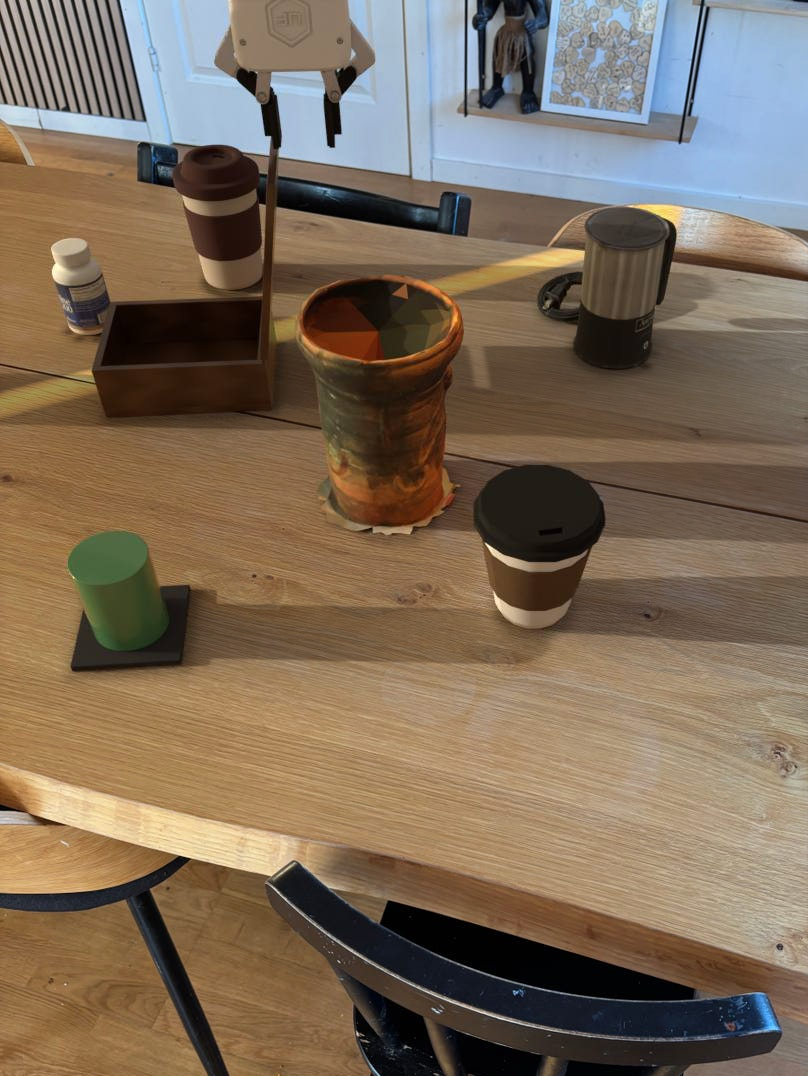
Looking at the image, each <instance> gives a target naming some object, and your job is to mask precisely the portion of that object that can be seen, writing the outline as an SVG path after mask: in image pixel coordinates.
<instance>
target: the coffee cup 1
mask: <svg viewBox="0 0 808 1076" xmlns="http://www.w3.org/2000/svg"><path fill="white" fill-rule="evenodd" d="M171 174H172V180H173V186H174V188H175V191H176V192H177V193H179V194H180V195H181V196H182V199H183V200H182V206H183V210H184V214H185V218H186V220H187V225H188V229H189V232H190V236H191V239H192V243H193V246H194V250H195V251H196V253H197V254H198V258H199V261H200V262H199V263H200V265H201V269H202V271H203V276H204V279H205V281H206V282H207V283H208V284H209V285H210V286H212V287H214V288H217V289H219V290H226V291H236V290H242V289H247V288H249V287H251V286H254V285H256V283H258V282H259V281H260V280H261V279H262V278H263V268H264V266H263V255H262V245H263V236H262V234H263V233H262V221H261V209H260V199H259V195H258V193H257V188H258V186H259V185H260V182H261V175H260V169H259V165H258V163H257V162H256V161H255V160H253V159H252V158H250V157H249V156H247V155H244V154H243V152H242V151H241V150H240V149H239V148H237V147H234V146H232V145H228V144H206V145H200V146H197V147H195V148H192V149H190V150H189V151H187V152H186V153H185V154H184V156H183V158H182V160H181V161H180V162H179V163H177V164H176V165H175V166H174V168H173V169H172V173H171Z"/></svg>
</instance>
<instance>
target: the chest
mask: <svg viewBox="0 0 808 1076" xmlns="http://www.w3.org/2000/svg"><path fill="white" fill-rule="evenodd" d="M261 322H262V295H259V296H257V295H256V296H234V297H233V296H228V297H204V298H203V297H201V298H200V297H199V298H174V299H148V300H147V299H146V300H121V301H111V302H110V305H109V308H108V312H107V316H106V319H105V323H104V327H103V330H102V333H100V338H99V341H98V345H97V349H96V353H95V357H94V360H93V364H92V367H91V374H92V377H93V380H94V384H95V387H96V390H97V393H98V396H99V399H100V403H101V406H102V409H103V413H104V415H105V418H122V417H123V418H124V417H143V416H146V417H147V416H167V415H168V416H169V415H190V414H191V415H193V414H212V413H213V414H214V413H231V412H232V413H234V412H235V413H237V412H255V411H256V412H257V411H272V410H273V404H274V403H273V402H274V389H275V388H274V387H275V374H276V373H275V372H276V356H277V342H278V340H277V335H276V330H275V322H274V314H273V310H272V311H271V325H270V339H269V353H268V360H264V359H260V350H261Z"/></svg>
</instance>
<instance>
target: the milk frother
mask: <svg viewBox="0 0 808 1076" xmlns="http://www.w3.org/2000/svg"><path fill="white" fill-rule="evenodd" d="M583 226H584V227H583V228H584V231H585V233H586V235H585V245H584V253H583V256H584V258H583V265H582V267H583V268H582V271H571V272H567V273H564V274H560V275H557V276H555V277H553V278H551V279H549V280H548V281H546V282H545V284H543V286H542V287H541V288H540V289H539V291H538V293H537V298H536V305H537V308H538V310H539V312H541V314H542V315H544V316H545V317H547V318H548V319H551V320H554V321H557V322H561V323H569V322H577V325H576V334H575V335H574V338H573V341H572V343H573V344H572V345H573V350H574V352H575V354H577V356H578V357H579V358H581V359H582V360H584V361H585V362H586V363H588V364H591V365H594V366H596V367H600V368H603V369H604V368H606V369H619V370H620V369H628V368H633V367H636V366H638V365H640V364H642V363H643V362H645V361H647V359H648V358H649V357H650V356H651V354H652V350H653V345H652V335H653V328H654V317H655V311H656V306H660V305H662V303H663V301H664V298H665V296H666V291H667V287H668V283H669V282H668V281H669V277H670V272H671V269H672V263H673V258H674V253H675V248H676V244H677V237H678V232H677V228H676V225H675V224H674V222H672V221H671V220H670V219H667V218H665V217H663V216H661V215H660V214H656V213H655V212H652V211H650V210H648V209H647V210H646V209H643V208H637V207H634V206H632V207H630V206H617V207H616V206H615V207H607V208H603V209H600V210H597V211H595V212H593V213H592V214H590V215H588V217H587V218H586V220H584V225H583ZM575 285H578V286H580V285H581V286H580V287H581V289H580V299H579V308H575V309H573V310H560V309H561V305H562V303H563V301H564V300H565V298H566V297H567V296H568V291H569V290H570V289H571V288H572V286H575Z"/></svg>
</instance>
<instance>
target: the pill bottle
mask: <svg viewBox="0 0 808 1076" xmlns="http://www.w3.org/2000/svg"><path fill="white" fill-rule="evenodd" d="M50 251H51V254H52V257H53V260H54V263H55V264H53V267H52V268H51V269H52V270H51V274H52V279H53V282H54V284H55V288H56V291H57V294H58V297H59V300H60V303H61V307H62V310H63V312H64V315H65V318H66V322H67V323H68V327H69V329H70V330H71V331H72V332H73V333H75V334H77V335H81V336H93V335H94V336H95V335H99V334H102V330H103V327H104V323H105V319H106V316H107V312H108V308H109V305H110V302H112V301H111V298H110V294H109V291H108V288H107V284H106V280H105V277H104V274H103V270H102V266H101V264H100V263H99V261H98V260H97V259H95V258H94V257H92V252H91V249H90V246H89V243H88V242H87V241H86V240H85V239H82V238H79V237H68V238H63V239H61V240H58V241H56V242H55V243H53V244H52V245H51V248H50Z"/></svg>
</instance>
